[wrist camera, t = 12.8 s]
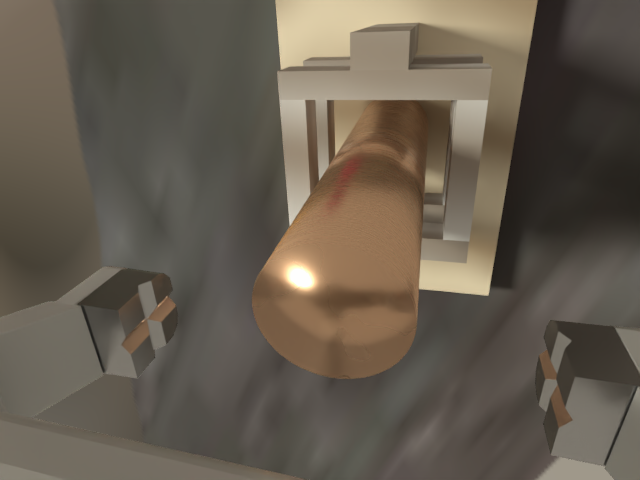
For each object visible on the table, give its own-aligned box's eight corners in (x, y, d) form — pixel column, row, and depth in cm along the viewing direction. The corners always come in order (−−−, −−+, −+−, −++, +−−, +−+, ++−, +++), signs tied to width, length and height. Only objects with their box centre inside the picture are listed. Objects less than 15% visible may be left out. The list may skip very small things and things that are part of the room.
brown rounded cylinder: (430, 93, 22) (422, 250, 8) (425, 166, 24) (411, 395, 10) (359, 93, 23) (242, 237, 9) (359, 164, 24) (262, 373, 11)
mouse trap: (486, 281, 28) (503, 390, 20) (303, 265, 30) (256, 354, 23) (550, -120, 18) (631, -210, 11) (278, -92, 21) (184, -147, 13)
